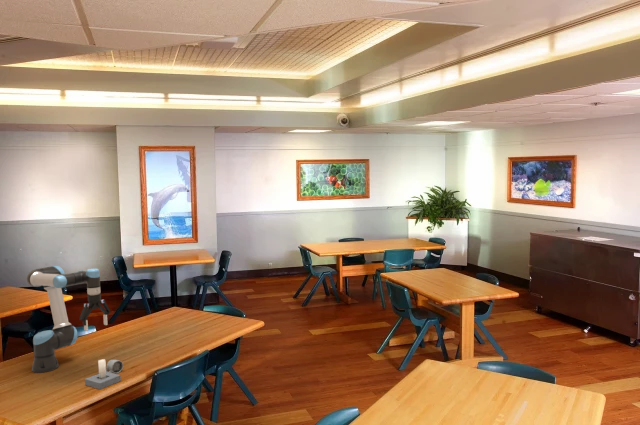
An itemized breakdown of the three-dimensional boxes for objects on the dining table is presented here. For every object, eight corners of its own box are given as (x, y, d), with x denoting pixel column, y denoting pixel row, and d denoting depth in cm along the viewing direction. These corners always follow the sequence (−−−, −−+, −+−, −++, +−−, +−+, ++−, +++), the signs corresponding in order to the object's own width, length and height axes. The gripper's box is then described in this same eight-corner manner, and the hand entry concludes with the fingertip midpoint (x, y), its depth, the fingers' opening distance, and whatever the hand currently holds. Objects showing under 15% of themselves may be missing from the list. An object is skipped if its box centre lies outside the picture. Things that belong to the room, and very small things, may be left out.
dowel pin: (97, 380, 310) (96, 360, 309) (103, 378, 313) (102, 358, 313) (102, 382, 308) (100, 362, 307) (108, 379, 311) (106, 359, 310)
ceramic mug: (116, 368, 334) (115, 356, 333) (123, 371, 329) (122, 359, 329) (100, 374, 326) (100, 362, 325) (108, 376, 321) (107, 364, 320)
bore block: (85, 384, 309) (84, 378, 308) (105, 376, 320) (105, 371, 320) (100, 389, 301) (99, 383, 301) (120, 380, 313) (120, 375, 313)
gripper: (79, 298, 311) (81, 333, 313) (115, 290, 332) (117, 323, 334) (71, 297, 315) (73, 332, 317) (107, 289, 336) (109, 321, 338)
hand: (96, 327), depth 325 cm, fingers open, 13 cm apart
